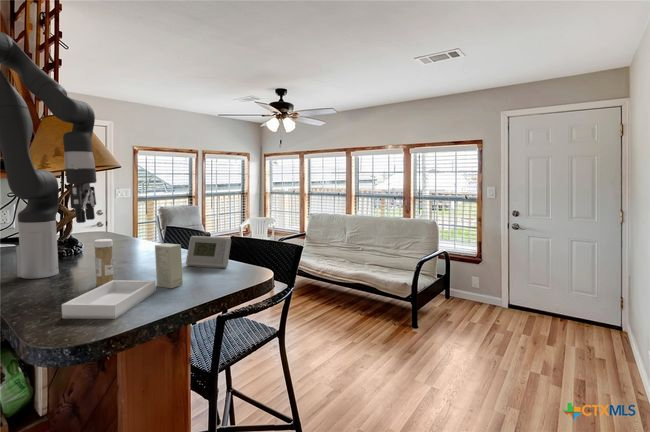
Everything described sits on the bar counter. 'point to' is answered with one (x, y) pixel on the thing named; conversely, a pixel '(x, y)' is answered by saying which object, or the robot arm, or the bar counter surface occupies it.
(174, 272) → the skincare box
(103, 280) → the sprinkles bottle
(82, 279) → the bar counter surface
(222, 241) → the digital clock
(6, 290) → the bar counter surface
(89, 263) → the bar counter surface
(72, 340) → the bar counter surface
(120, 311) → the tray
